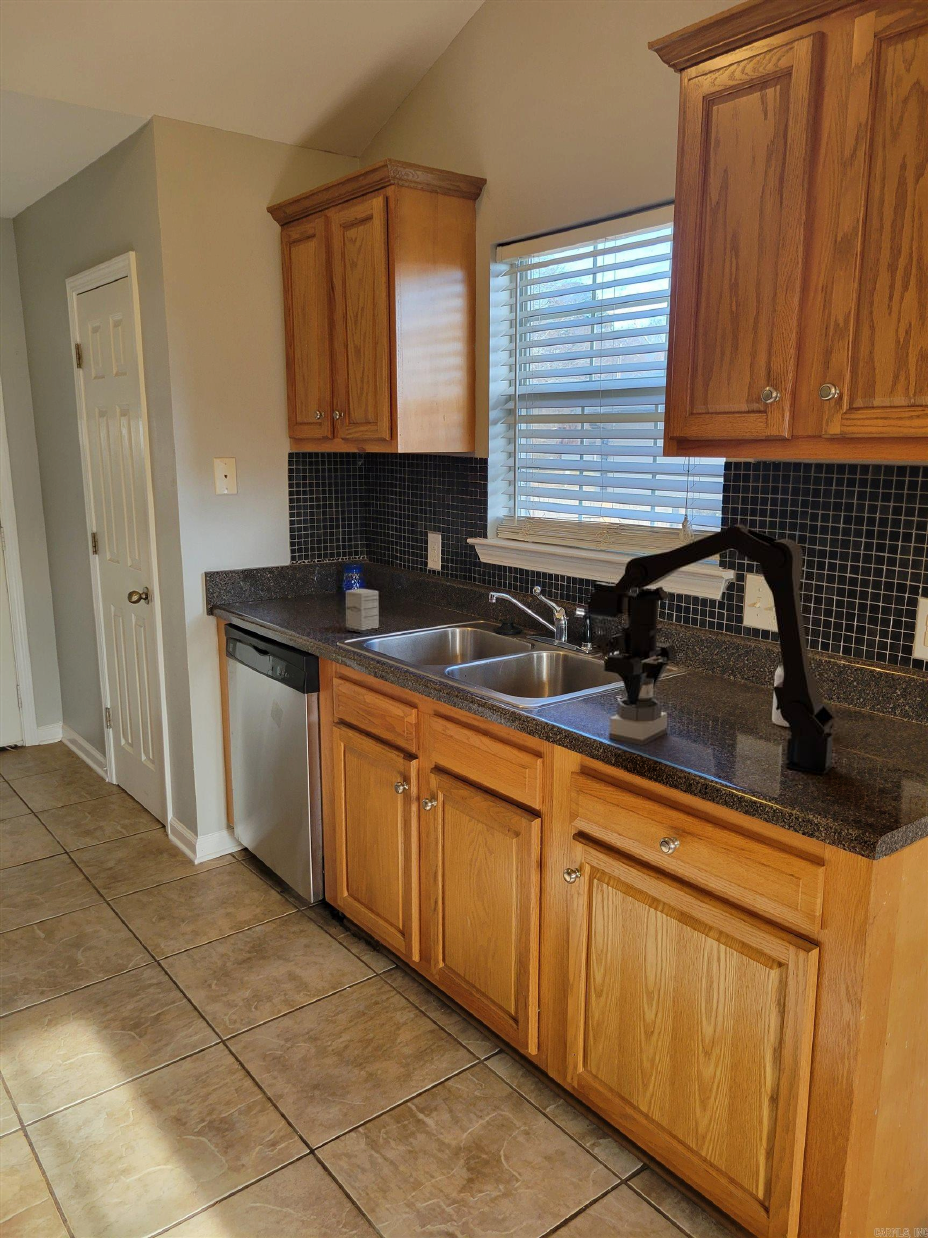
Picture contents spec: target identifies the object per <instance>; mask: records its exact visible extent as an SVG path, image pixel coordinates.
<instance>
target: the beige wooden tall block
mask: <svg viewBox="0 0 928 1238" xmlns="http://www.w3.org/2000/svg"><path fill="white" fill-rule="evenodd" d="M379 625H380V623H379V591H378V590H374V589H368V588H356V589H349V590H348V589H347V590H346V591H345V628H346V627H349V628H354V629H359V630H366V629H371V628H378V627H380V626H379Z"/></svg>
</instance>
